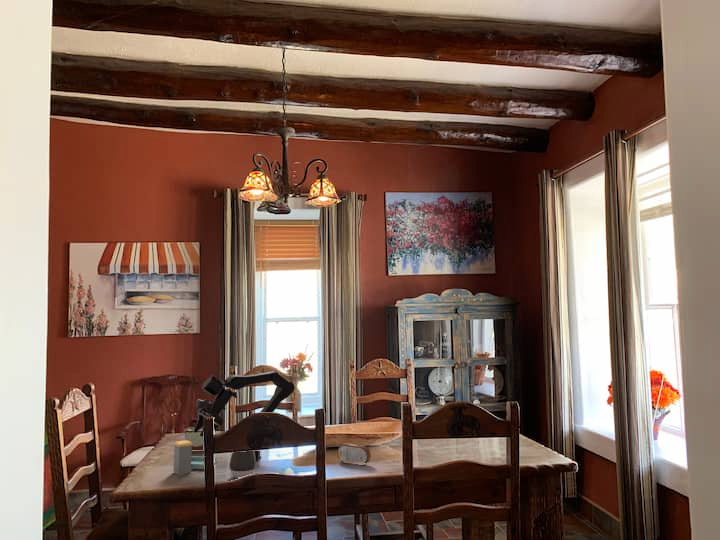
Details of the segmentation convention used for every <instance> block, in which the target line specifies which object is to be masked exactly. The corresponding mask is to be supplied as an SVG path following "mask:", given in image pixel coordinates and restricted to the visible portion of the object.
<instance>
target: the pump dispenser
mask: <svg viewBox="0 0 720 540" xmlns="http://www.w3.org/2000/svg"><path fill="white" fill-rule="evenodd" d="M229 460H230V461H229V470H230V473H231V475H232V477H234V478H235V479H238V477H243V476H246V475H249V474H252V475H253V474H254V473H255V470H256V468H257V461H256V458H255V452H254V451H246V452H234V453H231V455H230V459H229Z"/></svg>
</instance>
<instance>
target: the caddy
mask: <svg viewBox="0 0 720 540" xmlns="http://www.w3.org/2000/svg"><path fill="white" fill-rule="evenodd" d="M173 444H174V450H173V451H174V453H173V472H174V473H173V474H175V475H176V474H177V476H178V475H179V476H183V475H182V474H184V475H188V474H187V473H189V474H191V472H192V469H191V456H192V442H190V441H188V440H185V439H184V440H179V441H174V443H173Z"/></svg>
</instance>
